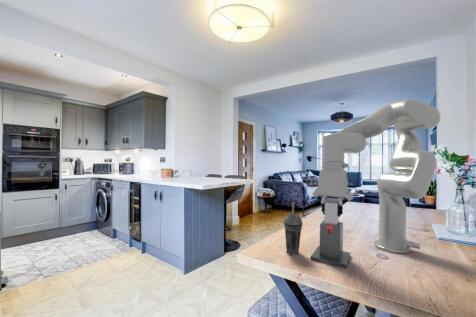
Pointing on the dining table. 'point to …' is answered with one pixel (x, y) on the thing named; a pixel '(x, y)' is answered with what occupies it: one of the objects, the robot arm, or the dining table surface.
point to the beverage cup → (292, 232)
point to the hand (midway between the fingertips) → (331, 214)
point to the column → (331, 212)
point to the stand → (331, 246)
